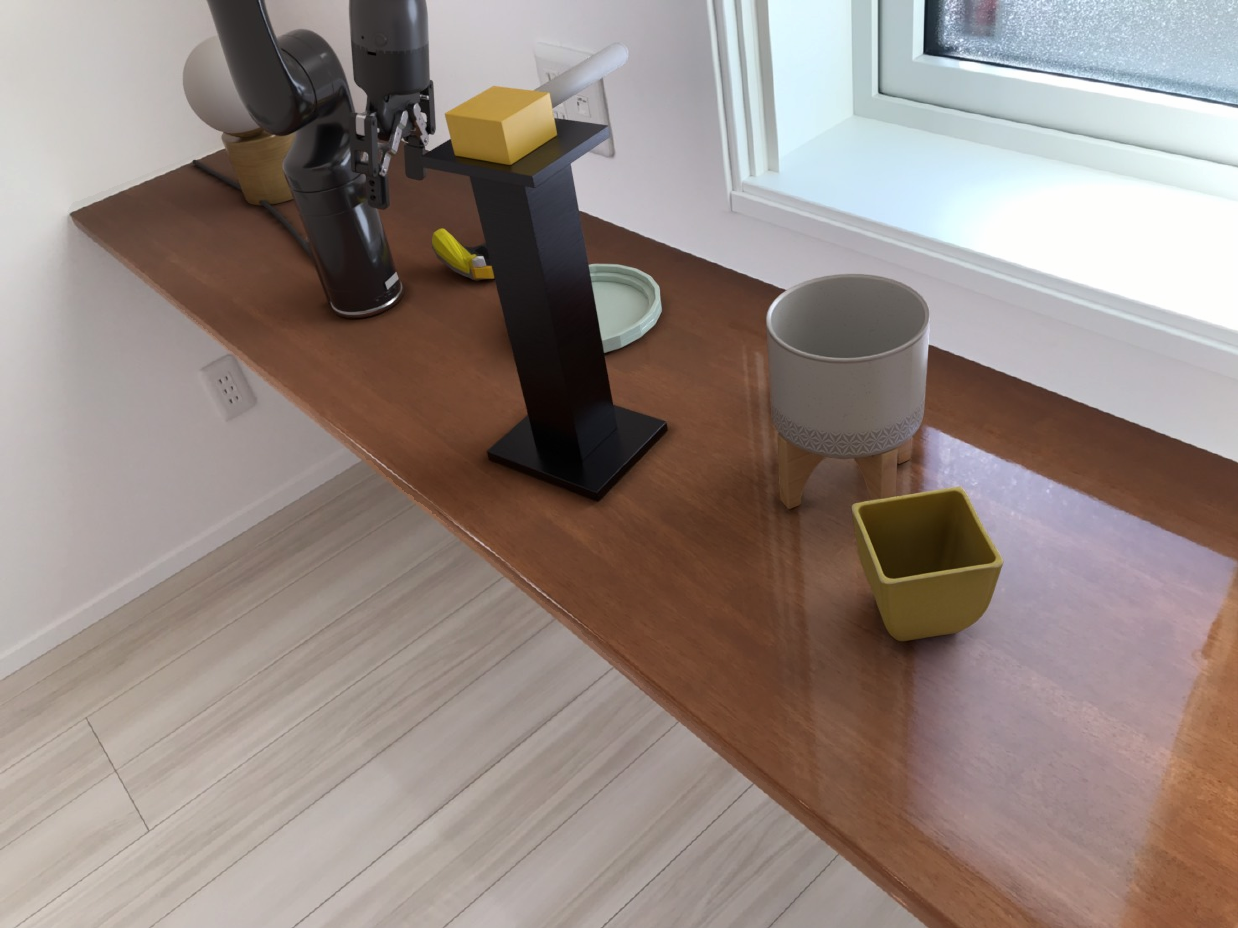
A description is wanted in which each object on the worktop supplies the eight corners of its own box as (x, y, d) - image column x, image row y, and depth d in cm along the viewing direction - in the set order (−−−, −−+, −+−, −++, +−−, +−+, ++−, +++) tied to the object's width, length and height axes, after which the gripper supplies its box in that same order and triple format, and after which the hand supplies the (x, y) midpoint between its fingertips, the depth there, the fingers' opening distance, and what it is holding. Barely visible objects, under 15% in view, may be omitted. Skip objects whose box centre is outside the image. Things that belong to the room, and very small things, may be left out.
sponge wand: (454, 156, 82) (443, 113, 79) (600, 67, 93) (594, 28, 91) (510, 165, 78) (500, 121, 76) (653, 73, 90) (649, 32, 88)
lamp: (307, 211, 157) (247, 46, 142) (220, 222, 159) (151, 60, 143) (329, 170, 169) (277, 13, 153) (248, 180, 170) (188, 26, 155)
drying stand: (488, 460, 103) (402, 159, 83) (560, 396, 110) (497, 104, 89) (598, 502, 95) (533, 183, 75) (668, 430, 102) (626, 121, 82)
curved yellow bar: (434, 267, 137) (463, 295, 130) (424, 230, 134) (453, 256, 126) (532, 229, 142) (565, 254, 135) (525, 192, 138) (558, 216, 131)
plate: (480, 340, 121) (476, 324, 119) (572, 268, 131) (569, 253, 130) (602, 376, 111) (599, 360, 110) (691, 296, 122) (689, 280, 120)
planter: (749, 465, 96) (737, 304, 85) (865, 419, 99) (869, 258, 88) (823, 548, 87) (820, 379, 76) (949, 494, 90) (965, 323, 79)
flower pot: (849, 582, 83) (849, 501, 78) (954, 565, 83) (962, 483, 78) (879, 665, 77) (882, 584, 71) (994, 647, 76) (1006, 564, 71)
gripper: (389, 13, 106) (397, 163, 116) (317, 47, 95) (332, 210, 105) (455, 25, 104) (457, 176, 114) (390, 61, 93) (398, 225, 103)
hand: (397, 192), depth 109 cm, fingers open, 8 cm apart
